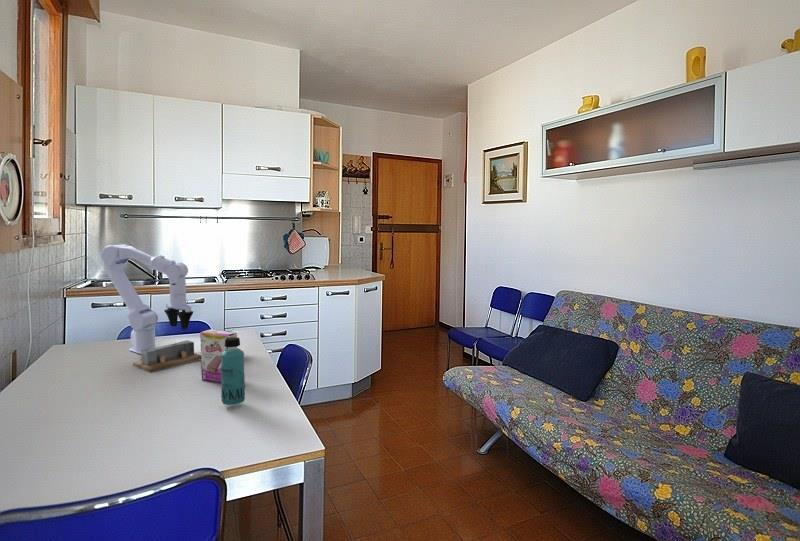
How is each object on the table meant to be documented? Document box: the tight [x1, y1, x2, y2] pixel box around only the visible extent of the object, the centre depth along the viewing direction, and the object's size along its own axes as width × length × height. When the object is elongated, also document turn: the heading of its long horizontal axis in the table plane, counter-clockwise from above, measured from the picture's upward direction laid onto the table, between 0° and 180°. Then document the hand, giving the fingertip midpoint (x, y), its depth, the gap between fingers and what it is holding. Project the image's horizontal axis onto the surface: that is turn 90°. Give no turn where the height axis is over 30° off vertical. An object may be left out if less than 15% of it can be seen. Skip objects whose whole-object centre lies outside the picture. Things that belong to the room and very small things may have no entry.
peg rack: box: [132, 351, 201, 373], centre depth 172 cm, size 12×20×4 cm, turn 145°
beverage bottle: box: [220, 336, 246, 406], centre depth 132 cm, size 6×7×20 cm
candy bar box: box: [199, 329, 238, 384], centre depth 153 cm, size 11×5×16 cm, turn 71°
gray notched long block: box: [140, 339, 195, 366], centre depth 172 cm, size 17×4×5 cm, turn 144°
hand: (179, 327), depth 185 cm, fingers open, 7 cm apart
